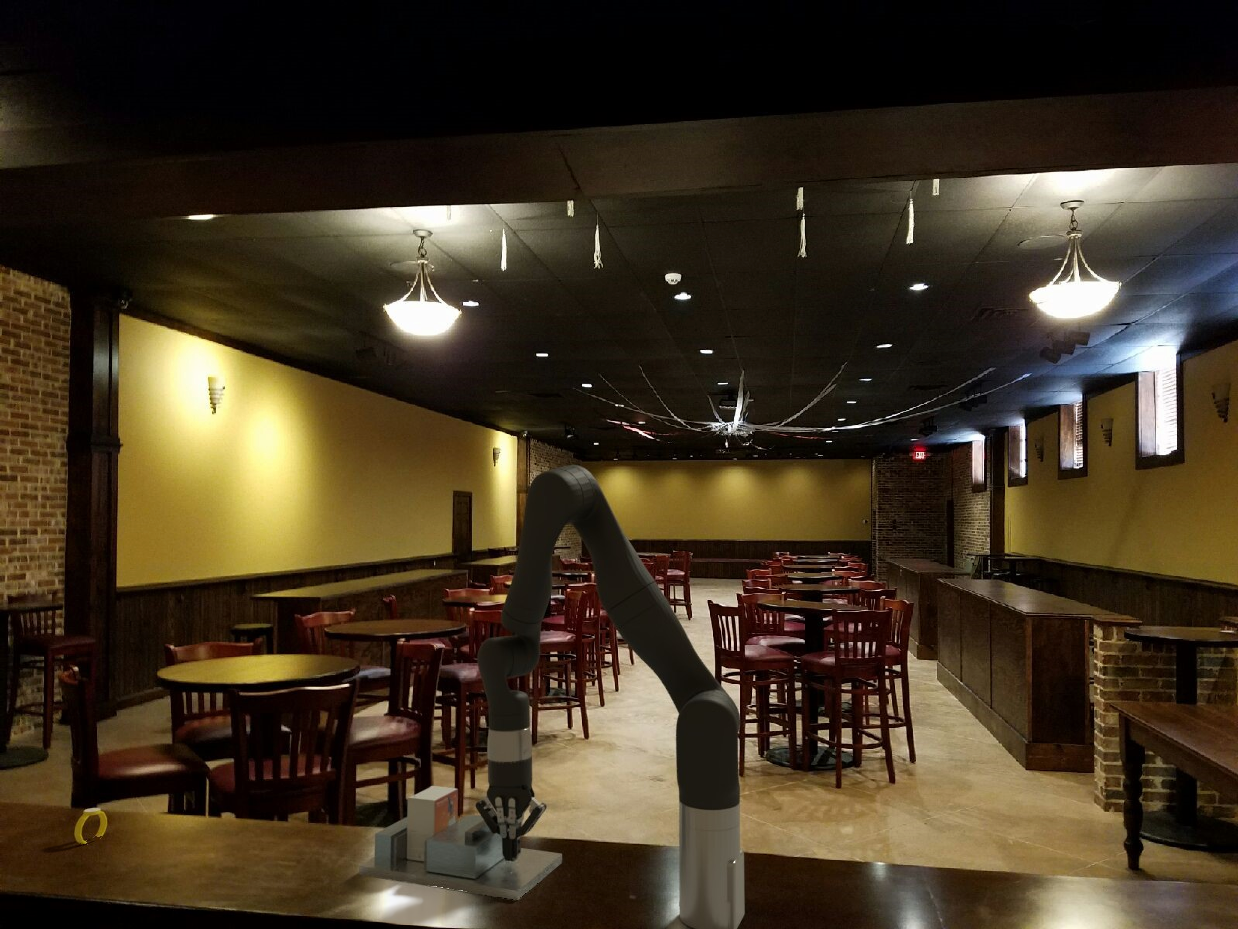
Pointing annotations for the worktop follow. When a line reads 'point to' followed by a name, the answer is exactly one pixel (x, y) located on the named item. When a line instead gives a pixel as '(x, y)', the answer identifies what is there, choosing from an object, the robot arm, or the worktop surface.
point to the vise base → (494, 882)
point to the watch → (82, 819)
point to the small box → (429, 817)
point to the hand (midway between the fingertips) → (511, 859)
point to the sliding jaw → (463, 848)
